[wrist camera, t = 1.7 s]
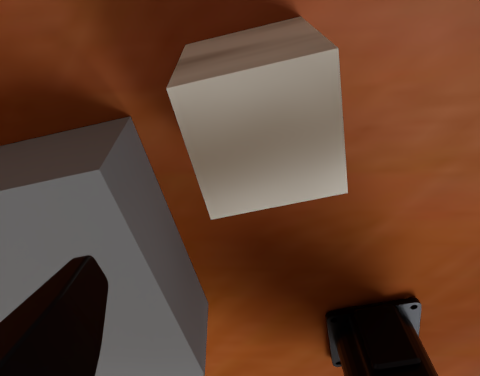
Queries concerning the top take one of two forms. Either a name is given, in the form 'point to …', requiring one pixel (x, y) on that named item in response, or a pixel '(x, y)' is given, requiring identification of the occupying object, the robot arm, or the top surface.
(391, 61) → the top surface
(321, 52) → the cream block
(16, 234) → the plinth
